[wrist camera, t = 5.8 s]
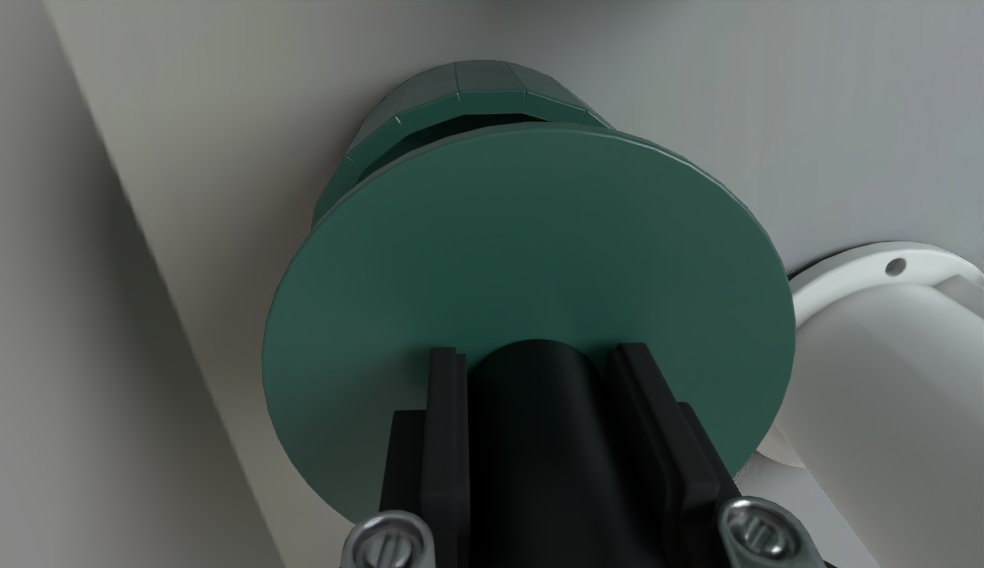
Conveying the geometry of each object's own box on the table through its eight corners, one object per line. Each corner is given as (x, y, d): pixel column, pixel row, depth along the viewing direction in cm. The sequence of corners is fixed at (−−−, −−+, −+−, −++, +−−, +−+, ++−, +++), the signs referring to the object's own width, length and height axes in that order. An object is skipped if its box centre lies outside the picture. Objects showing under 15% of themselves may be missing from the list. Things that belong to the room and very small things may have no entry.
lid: (461, -22, 10) (469, -38, 4) (872, 304, 13) (1206, 556, 7) (194, 420, 14) (-4, 746, 8) (564, 579, 17) (620, 887, 11)
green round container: (441, -9, 19) (440, -5, 13) (671, 169, 23) (748, 232, 17) (293, 239, 23) (242, 325, 17) (510, 358, 26) (528, 463, 21)
